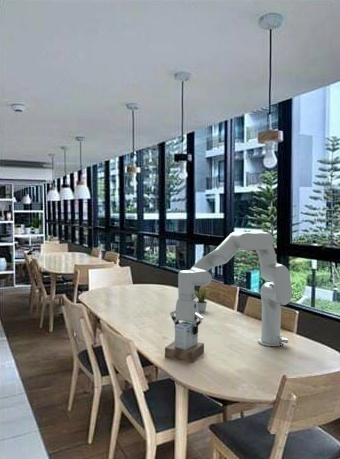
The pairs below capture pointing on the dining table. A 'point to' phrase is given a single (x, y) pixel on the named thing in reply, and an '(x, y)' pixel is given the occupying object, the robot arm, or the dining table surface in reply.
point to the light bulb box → (185, 335)
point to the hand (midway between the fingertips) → (186, 332)
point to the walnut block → (184, 352)
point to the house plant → (201, 300)
